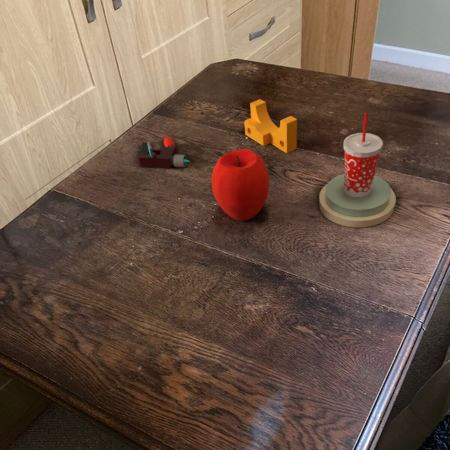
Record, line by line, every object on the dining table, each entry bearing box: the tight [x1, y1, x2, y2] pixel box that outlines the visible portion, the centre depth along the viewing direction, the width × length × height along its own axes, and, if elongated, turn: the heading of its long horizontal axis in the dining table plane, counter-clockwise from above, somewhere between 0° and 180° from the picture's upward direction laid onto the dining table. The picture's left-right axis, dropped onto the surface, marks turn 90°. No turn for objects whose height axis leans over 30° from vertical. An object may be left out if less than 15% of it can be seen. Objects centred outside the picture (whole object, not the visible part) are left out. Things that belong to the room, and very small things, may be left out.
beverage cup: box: [342, 111, 384, 197], centre depth 80 cm, size 6×6×14 cm
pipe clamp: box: [244, 98, 298, 154], centre depth 102 cm, size 12×4×6 cm, turn 34°
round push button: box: [318, 173, 397, 229], centre depth 86 cm, size 13×13×3 cm
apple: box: [211, 148, 270, 222], centre depth 84 cm, size 10×10×12 cm
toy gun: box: [136, 136, 191, 169], centre depth 102 cm, size 10×12×5 cm
